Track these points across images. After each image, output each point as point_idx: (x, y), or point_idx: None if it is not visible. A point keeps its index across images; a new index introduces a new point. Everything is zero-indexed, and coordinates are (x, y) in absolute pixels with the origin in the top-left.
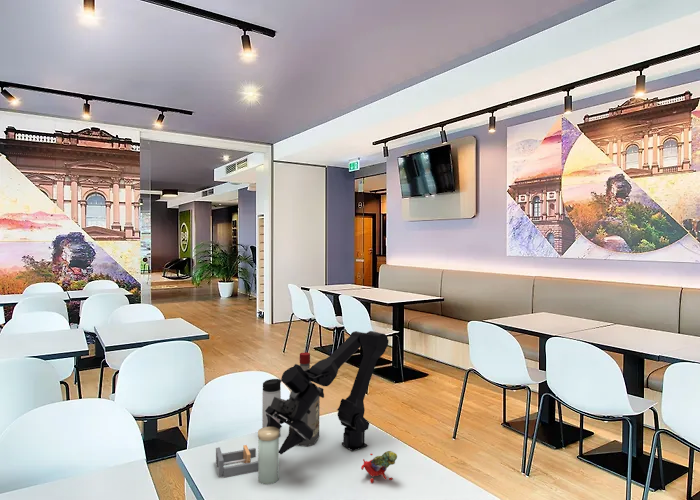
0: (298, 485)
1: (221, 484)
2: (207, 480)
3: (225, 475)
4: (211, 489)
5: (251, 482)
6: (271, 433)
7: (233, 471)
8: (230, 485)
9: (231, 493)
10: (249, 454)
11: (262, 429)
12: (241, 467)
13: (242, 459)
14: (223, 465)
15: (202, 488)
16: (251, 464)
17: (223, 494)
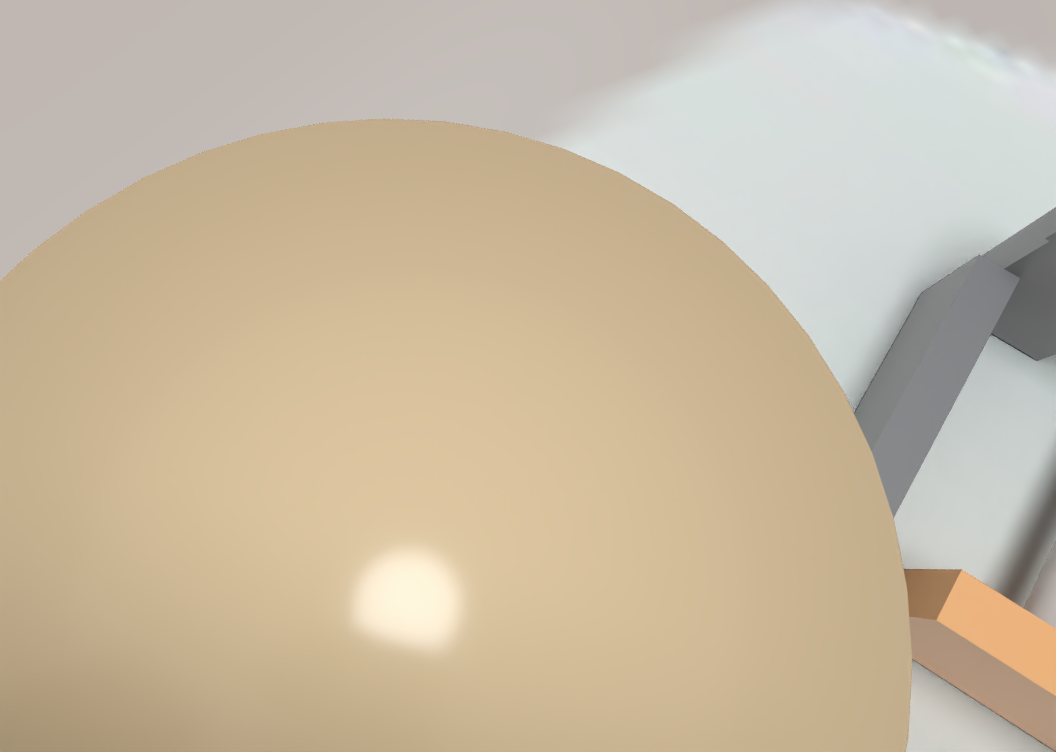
0: None
1: (819, 189)
2: (1002, 161)
3: (924, 300)
4: (817, 78)
5: None
6: (49, 464)
7: (897, 370)
8: (727, 228)
9: (594, 136)
10: (947, 604)
11: (761, 556)
12: None
13: (1054, 627)
14: (1026, 254)
15: (902, 43)
16: None
17: (645, 83)
